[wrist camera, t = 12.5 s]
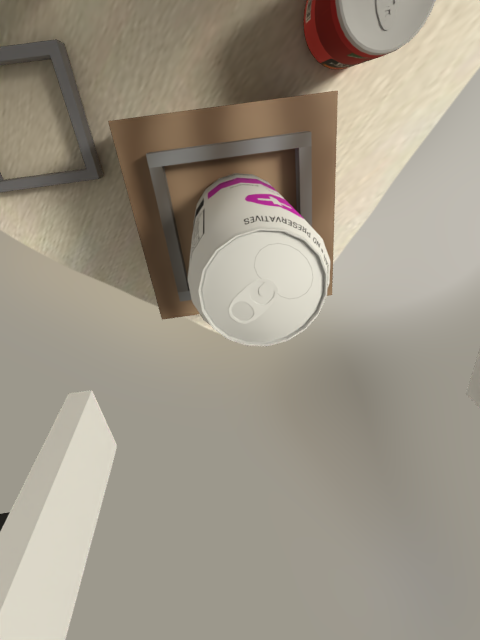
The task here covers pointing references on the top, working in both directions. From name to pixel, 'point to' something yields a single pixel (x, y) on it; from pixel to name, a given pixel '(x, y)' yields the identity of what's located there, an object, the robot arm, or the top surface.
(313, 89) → the top surface
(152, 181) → the riser block
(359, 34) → the canned food
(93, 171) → the base frame
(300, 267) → the supplement can
